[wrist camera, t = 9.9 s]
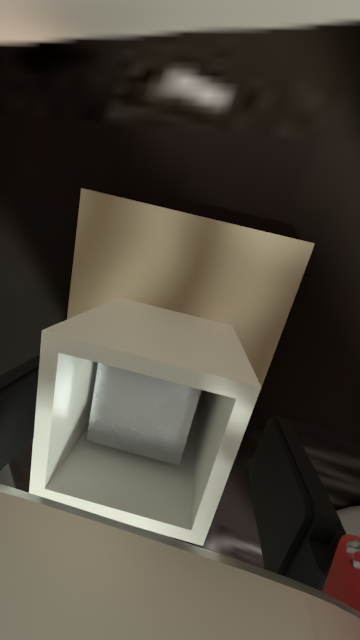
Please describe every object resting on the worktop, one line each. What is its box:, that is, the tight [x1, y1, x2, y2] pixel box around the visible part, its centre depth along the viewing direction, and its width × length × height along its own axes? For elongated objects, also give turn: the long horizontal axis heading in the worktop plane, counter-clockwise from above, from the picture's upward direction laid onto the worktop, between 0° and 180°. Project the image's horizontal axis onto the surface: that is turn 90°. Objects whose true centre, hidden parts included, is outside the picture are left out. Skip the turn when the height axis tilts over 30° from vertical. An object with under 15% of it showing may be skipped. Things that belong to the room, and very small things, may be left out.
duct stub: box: [86, 363, 201, 466], centre depth 12 cm, size 4×4×5 cm
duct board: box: [67, 188, 315, 447], centre depth 15 cm, size 13×18×2 cm
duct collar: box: [29, 297, 261, 546], centre depth 12 cm, size 7×10×7 cm
